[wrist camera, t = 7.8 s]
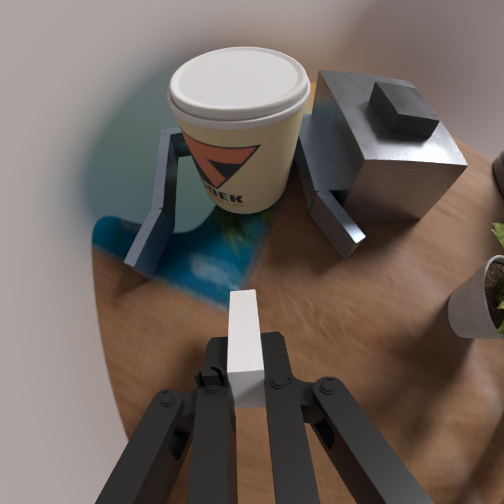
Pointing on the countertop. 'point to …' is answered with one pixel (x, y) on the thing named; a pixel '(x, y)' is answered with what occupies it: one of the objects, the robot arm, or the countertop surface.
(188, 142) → the coffee cup
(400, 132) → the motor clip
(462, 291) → the house plant
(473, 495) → the countertop surface
